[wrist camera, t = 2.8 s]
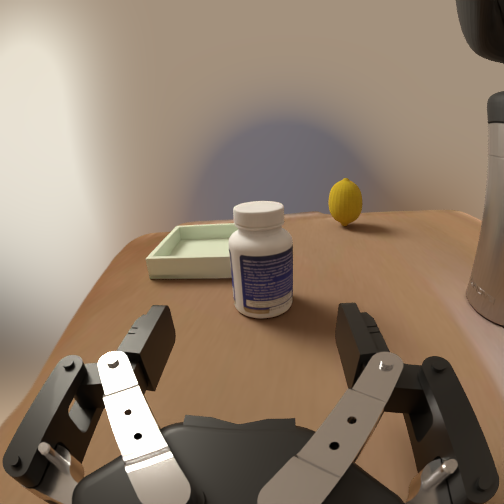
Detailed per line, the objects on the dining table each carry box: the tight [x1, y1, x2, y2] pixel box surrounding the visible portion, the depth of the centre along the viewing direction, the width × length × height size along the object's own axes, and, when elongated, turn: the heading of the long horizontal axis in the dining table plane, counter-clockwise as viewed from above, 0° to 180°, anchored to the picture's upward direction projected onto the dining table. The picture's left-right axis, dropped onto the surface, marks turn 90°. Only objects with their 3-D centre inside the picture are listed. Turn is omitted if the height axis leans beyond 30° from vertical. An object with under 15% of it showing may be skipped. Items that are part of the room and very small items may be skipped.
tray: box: [146, 223, 238, 279], centre depth 36 cm, size 12×12×2 cm
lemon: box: [329, 178, 362, 226], centre depth 43 cm, size 6×6×8 cm
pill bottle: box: [228, 201, 293, 318], centre depth 24 cm, size 5×5×9 cm
